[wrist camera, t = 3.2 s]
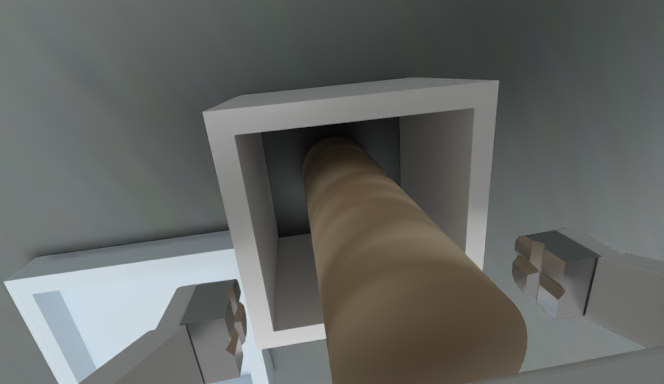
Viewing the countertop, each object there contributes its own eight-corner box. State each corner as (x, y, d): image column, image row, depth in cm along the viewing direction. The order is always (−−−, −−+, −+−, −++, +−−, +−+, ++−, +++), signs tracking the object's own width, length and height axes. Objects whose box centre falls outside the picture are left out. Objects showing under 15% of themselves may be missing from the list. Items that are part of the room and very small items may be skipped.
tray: (243, 228, 20) (238, 247, 18) (274, 370, 24) (272, 401, 22) (36, 257, 19) (3, 281, 17) (106, 400, 23) (87, 435, 21)
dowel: (366, 132, 19) (539, 265, 6) (369, 196, 20) (515, 415, 7) (298, 140, 19) (322, 300, 6) (306, 204, 20) (341, 451, 7)
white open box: (412, 77, 18) (498, 80, 11) (413, 229, 22) (479, 312, 14) (239, 95, 17) (202, 112, 10) (268, 250, 21) (257, 350, 13)
